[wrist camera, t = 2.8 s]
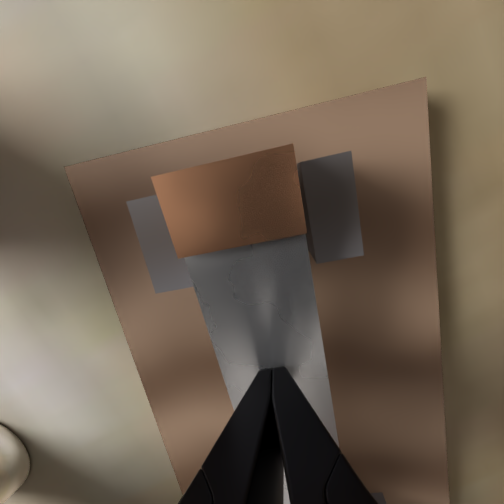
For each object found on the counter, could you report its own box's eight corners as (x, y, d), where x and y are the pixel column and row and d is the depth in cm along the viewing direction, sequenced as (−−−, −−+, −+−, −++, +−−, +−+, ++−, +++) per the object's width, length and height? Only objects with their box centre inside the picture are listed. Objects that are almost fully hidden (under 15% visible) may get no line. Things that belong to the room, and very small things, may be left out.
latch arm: (358, 545, 13) (370, 598, 12) (283, 550, 14) (286, 602, 12) (297, 143, 7) (307, 139, 6) (164, 174, 8) (138, 179, 6)
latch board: (434, 496, 16) (497, 615, 11) (207, 516, 17) (186, 628, 13) (404, 91, 11) (497, 28, 6) (87, 168, 12) (-12, 160, 8)
